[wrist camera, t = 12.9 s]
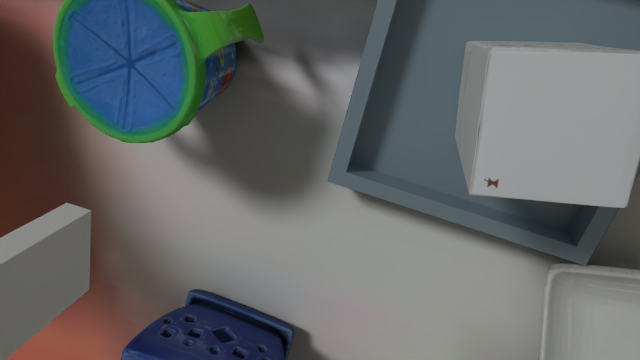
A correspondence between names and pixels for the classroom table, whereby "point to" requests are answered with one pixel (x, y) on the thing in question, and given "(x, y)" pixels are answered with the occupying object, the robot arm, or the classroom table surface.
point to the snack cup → (146, 61)
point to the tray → (442, 104)
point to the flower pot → (212, 333)
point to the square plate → (590, 313)
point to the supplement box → (549, 121)
